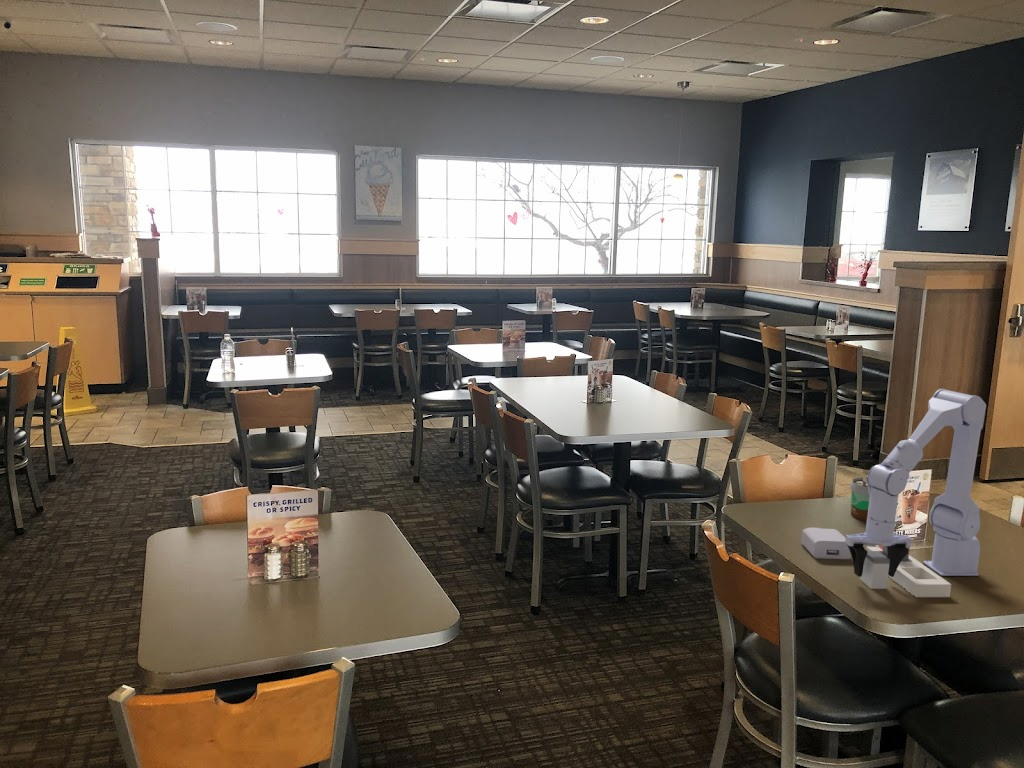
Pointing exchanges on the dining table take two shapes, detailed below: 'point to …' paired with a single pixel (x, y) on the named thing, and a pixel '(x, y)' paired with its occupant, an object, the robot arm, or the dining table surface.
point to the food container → (859, 499)
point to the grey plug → (875, 570)
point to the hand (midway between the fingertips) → (873, 574)
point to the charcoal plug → (902, 559)
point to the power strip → (918, 578)
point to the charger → (825, 543)
